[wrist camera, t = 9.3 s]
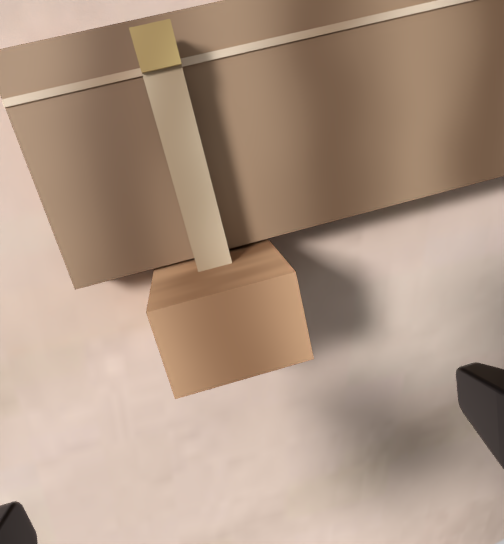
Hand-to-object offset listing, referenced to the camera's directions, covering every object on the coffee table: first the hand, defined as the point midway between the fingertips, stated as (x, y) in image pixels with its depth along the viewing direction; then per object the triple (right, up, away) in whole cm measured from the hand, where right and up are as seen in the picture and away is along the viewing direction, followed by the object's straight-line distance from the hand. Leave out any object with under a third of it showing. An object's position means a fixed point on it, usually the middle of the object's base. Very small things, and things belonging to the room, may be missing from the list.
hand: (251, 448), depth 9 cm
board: (+3, +10, +9) cm, 14 cm away
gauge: (-2, +7, +9) cm, 12 cm away
